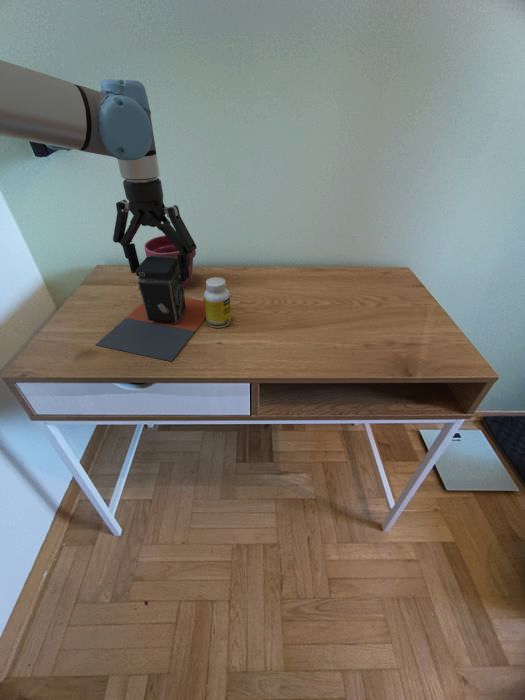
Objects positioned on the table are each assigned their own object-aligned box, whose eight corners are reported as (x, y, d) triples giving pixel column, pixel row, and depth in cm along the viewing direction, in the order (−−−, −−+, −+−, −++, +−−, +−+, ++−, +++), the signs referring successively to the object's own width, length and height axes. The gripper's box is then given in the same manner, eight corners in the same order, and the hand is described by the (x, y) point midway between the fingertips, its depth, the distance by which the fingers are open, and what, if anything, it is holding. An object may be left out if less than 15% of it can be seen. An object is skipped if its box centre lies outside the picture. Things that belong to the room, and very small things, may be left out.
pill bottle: (222, 331, 80) (219, 290, 73) (201, 324, 83) (196, 284, 75) (236, 318, 85) (234, 279, 78) (215, 312, 87) (211, 273, 80)
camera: (193, 305, 89) (185, 253, 80) (182, 326, 81) (172, 271, 72) (157, 302, 90) (145, 251, 81) (143, 323, 82) (128, 269, 73)
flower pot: (177, 298, 93) (169, 256, 84) (143, 286, 98) (133, 245, 90) (208, 279, 102) (204, 240, 94) (175, 269, 108) (169, 231, 100)
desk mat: (95, 345, 75) (95, 344, 75) (154, 293, 95) (154, 292, 95) (171, 362, 71) (171, 361, 71) (216, 304, 91) (216, 303, 90)
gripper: (205, 180, 65) (213, 275, 79) (101, 170, 70) (125, 262, 84) (188, 187, 60) (200, 289, 73) (77, 177, 65) (106, 274, 78)
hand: (160, 275), depth 78 cm, fingers open, 13 cm apart
